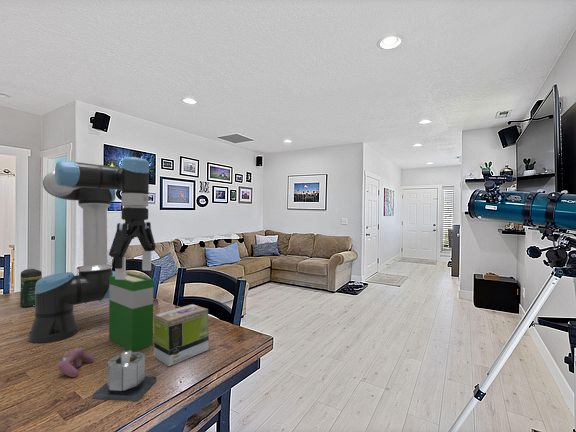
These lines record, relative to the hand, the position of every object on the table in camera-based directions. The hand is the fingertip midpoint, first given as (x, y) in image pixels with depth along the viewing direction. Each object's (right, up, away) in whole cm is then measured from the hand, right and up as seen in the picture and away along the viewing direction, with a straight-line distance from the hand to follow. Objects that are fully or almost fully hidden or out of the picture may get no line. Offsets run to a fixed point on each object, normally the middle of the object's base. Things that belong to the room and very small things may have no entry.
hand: (134, 274), depth 92 cm
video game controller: (-16, -29, -4) cm, 33 cm away
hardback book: (-10, -29, +16) cm, 34 cm away
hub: (+5, -26, -13) cm, 30 cm away
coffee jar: (-84, -28, +58) cm, 106 cm away
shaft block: (+5, -29, -13) cm, 32 cm away
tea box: (+12, -29, +7) cm, 32 cm away
